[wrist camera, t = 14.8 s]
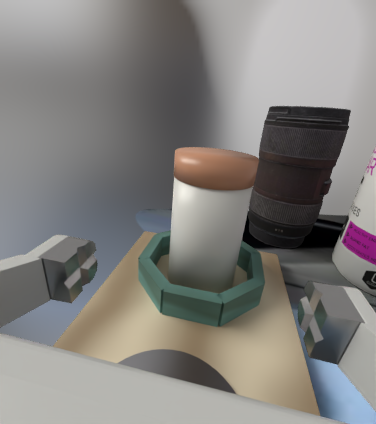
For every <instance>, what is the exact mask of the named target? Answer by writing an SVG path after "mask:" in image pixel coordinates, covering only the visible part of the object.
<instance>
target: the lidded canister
mask: <svg viewBox="0 0 376 424" xmlns="http://www.w3.org/2000/svg"><path fill="white" fill-rule="evenodd" d="M258 163H259V159H258V158H257V157H255V156H252V155H249V154H246V153H242V152H236V151H231V150H224V149H216V148H203V147H187V148H179V149H176V150H175V163H174V190H173V205H172V221H171V236H170V252H169V267H168V278H169V281H170V283H171V284H174V285H179V286H184V287H189V288H193V289H198V290H203V291H208V292H213V293H217V294H220V293H222V292H224V291H226V290H228V289H231V288H232V285H233V280H234V275H235V270H236V266H237V261H238V256H239V251H240V246H241V241H242V237H243V232H244V227H245V222H246V217H247V212H248V208H249V203H250V198H251V193H252V188H253V185H254V182H255V178H256V173H257V168H258Z"/></svg>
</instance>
